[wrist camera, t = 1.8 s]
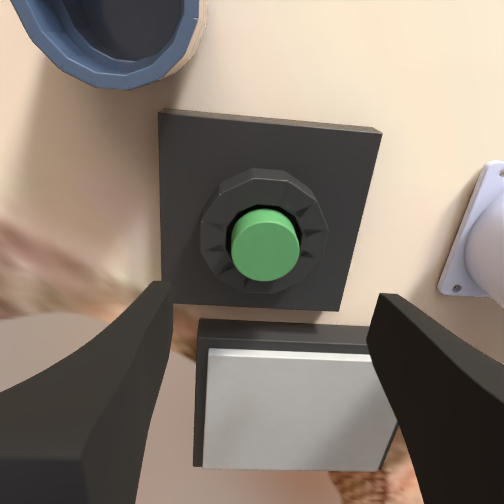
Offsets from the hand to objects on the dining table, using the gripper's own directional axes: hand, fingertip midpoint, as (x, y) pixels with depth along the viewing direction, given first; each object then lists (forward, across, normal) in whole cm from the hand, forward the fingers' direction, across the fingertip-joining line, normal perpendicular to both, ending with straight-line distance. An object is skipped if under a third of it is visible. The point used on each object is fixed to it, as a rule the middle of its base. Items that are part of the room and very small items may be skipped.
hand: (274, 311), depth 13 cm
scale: (+8, -4, +13) cm, 16 cm away
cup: (+8, +6, -9) cm, 14 cm away
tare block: (+8, 0, 0) cm, 8 cm away
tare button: (+6, 0, 0) cm, 6 cm away
